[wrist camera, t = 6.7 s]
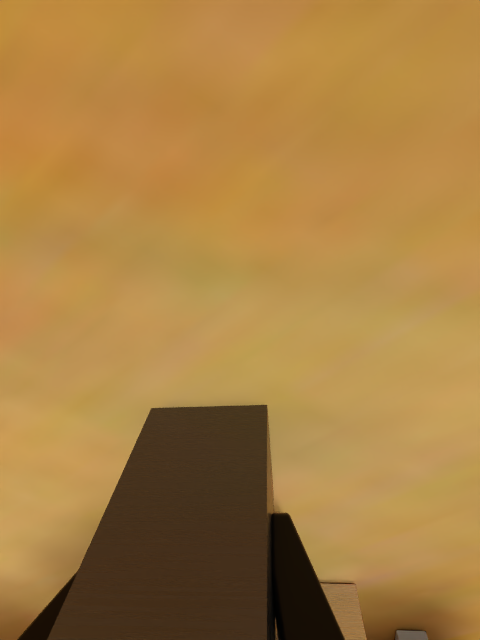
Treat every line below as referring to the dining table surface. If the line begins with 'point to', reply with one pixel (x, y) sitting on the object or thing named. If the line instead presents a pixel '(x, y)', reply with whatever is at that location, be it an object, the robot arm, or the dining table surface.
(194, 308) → the dining table surface
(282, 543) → the robot arm
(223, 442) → the grey angular piece
